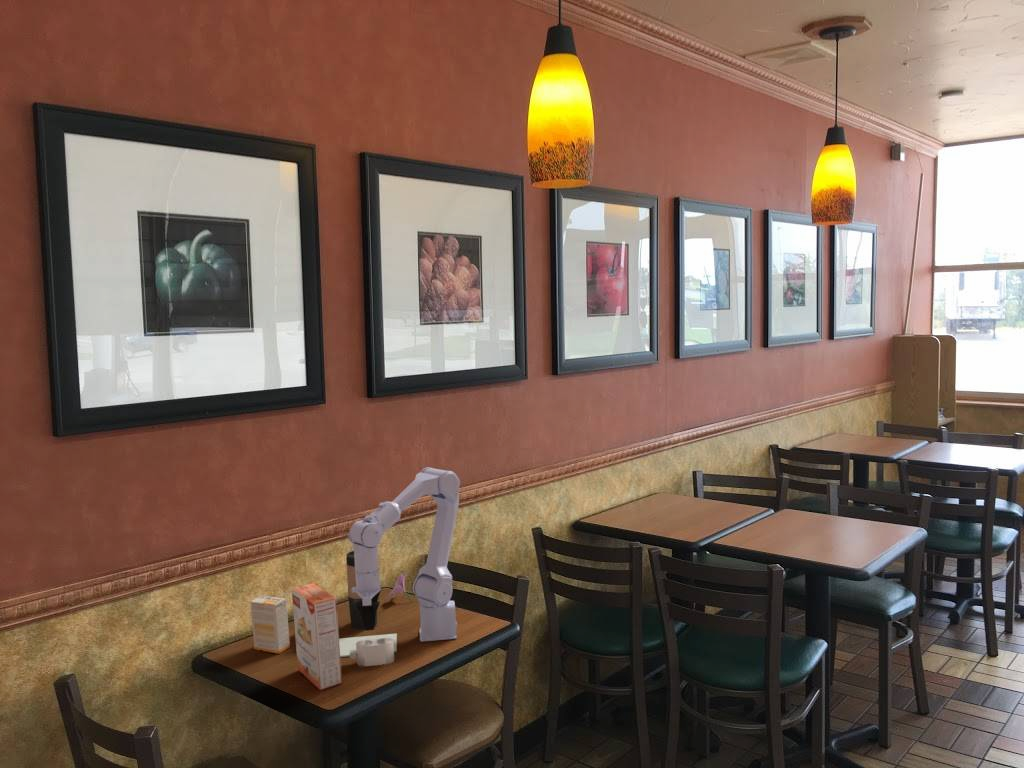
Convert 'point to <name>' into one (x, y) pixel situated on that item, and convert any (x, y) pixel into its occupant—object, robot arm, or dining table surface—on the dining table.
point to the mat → (350, 643)
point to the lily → (399, 586)
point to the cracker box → (317, 635)
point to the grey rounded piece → (373, 652)
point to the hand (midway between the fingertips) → (370, 623)
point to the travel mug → (353, 597)
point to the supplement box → (270, 624)
